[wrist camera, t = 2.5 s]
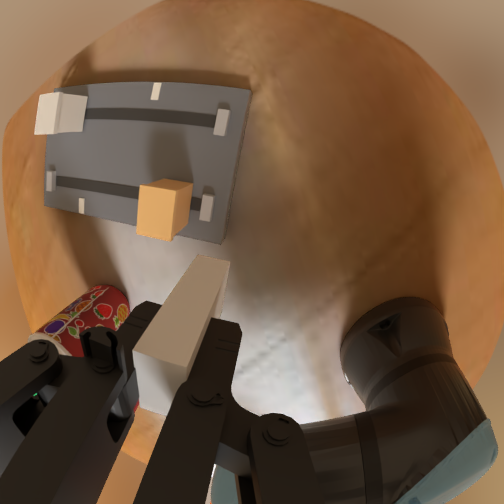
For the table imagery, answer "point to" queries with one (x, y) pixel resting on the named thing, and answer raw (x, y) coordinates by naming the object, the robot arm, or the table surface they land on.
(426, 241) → the table surface
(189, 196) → the orange fader
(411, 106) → the table surface
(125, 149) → the fader console
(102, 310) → the smoothie
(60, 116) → the cream fader
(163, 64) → the table surface
